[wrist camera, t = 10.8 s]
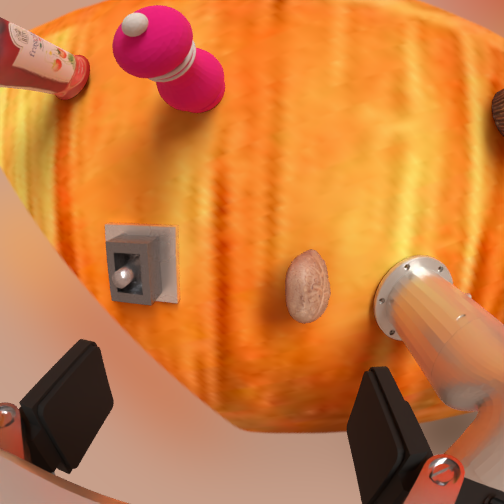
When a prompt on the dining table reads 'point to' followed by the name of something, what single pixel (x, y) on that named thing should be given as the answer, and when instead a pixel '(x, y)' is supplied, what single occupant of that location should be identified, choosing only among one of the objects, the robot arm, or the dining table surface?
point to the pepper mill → (169, 58)
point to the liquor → (39, 64)
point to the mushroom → (307, 287)
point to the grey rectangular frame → (149, 264)
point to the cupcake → (499, 110)
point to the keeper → (167, 257)
